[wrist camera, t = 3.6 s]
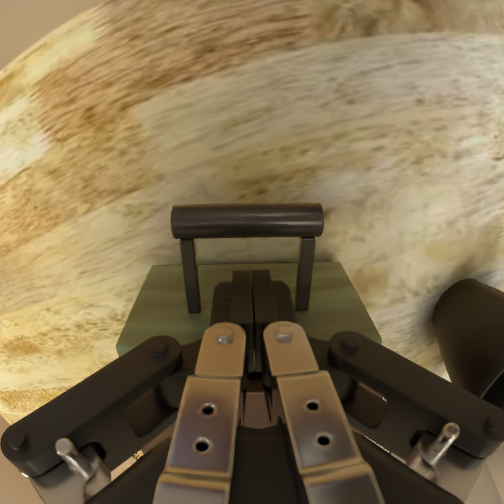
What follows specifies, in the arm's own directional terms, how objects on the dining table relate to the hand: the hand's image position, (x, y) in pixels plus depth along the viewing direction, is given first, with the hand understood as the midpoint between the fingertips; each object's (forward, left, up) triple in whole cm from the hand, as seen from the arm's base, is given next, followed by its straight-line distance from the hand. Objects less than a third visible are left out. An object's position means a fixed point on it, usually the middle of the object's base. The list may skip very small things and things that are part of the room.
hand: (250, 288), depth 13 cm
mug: (+9, +18, -7) cm, 21 cm away
